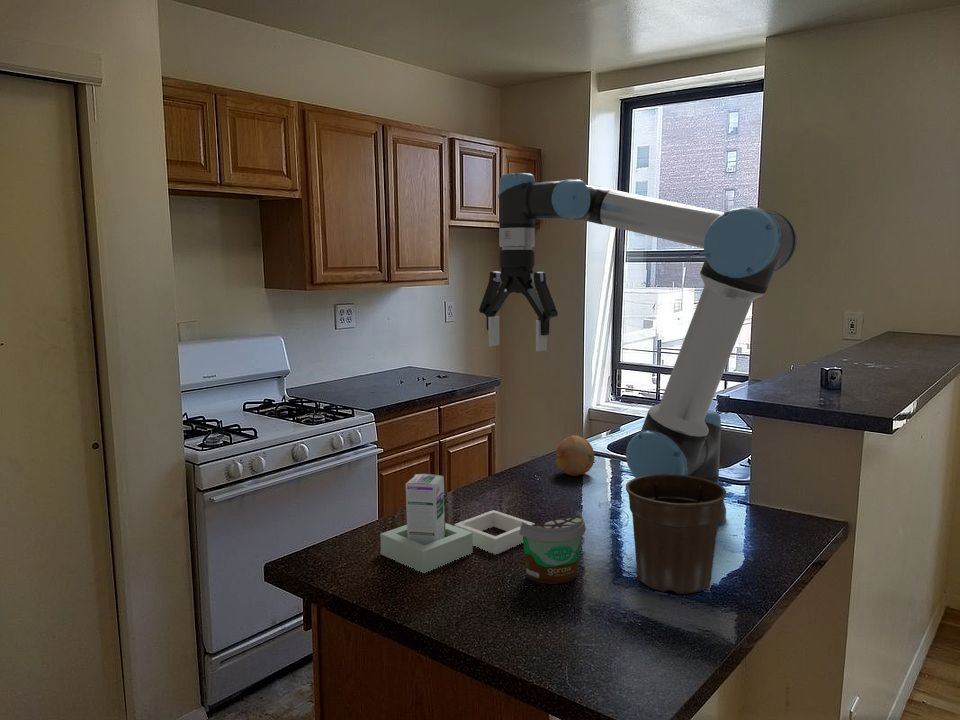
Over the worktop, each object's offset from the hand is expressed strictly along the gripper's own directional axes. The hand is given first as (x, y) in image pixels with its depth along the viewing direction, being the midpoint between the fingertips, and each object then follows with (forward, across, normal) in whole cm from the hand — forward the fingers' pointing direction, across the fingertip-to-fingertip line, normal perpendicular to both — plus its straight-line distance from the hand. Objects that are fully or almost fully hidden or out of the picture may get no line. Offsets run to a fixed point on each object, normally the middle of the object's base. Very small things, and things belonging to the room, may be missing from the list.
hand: (516, 348), depth 158 cm
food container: (+35, +31, -24) cm, 52 cm away
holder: (+35, +11, -19) cm, 41 cm away
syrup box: (+35, +6, -33) cm, 48 cm away
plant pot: (+35, +45, -11) cm, 58 cm away
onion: (+35, -3, +25) cm, 43 cm away
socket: (+35, +6, -33) cm, 48 cm away
